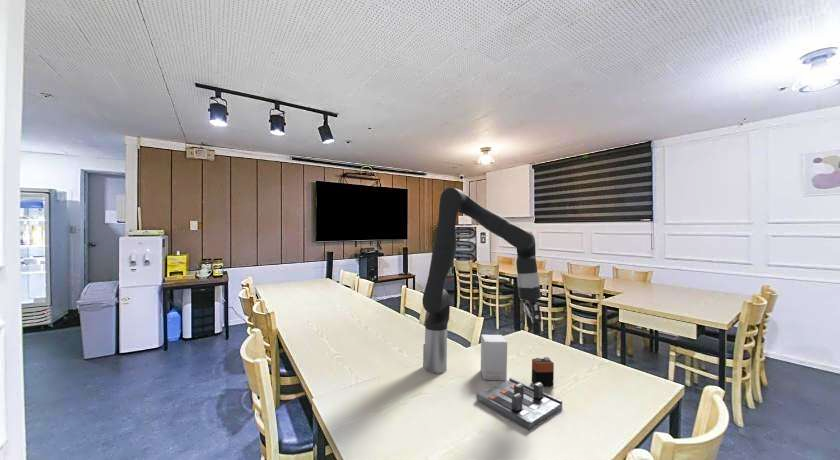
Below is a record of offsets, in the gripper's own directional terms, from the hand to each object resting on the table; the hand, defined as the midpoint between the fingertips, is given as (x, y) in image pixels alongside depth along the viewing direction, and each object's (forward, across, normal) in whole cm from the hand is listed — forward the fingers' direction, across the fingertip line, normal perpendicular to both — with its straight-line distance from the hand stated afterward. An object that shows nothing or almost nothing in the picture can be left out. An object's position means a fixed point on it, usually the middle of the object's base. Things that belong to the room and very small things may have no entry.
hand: (533, 330), depth 114 cm
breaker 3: (+20, +6, -2) cm, 21 cm away
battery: (+22, -8, +3) cm, 24 cm away
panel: (+22, +8, -9) cm, 25 cm away
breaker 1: (+19, +8, -9) cm, 23 cm away
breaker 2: (+19, +15, -11) cm, 27 cm away
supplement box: (+20, -13, -14) cm, 28 cm away
